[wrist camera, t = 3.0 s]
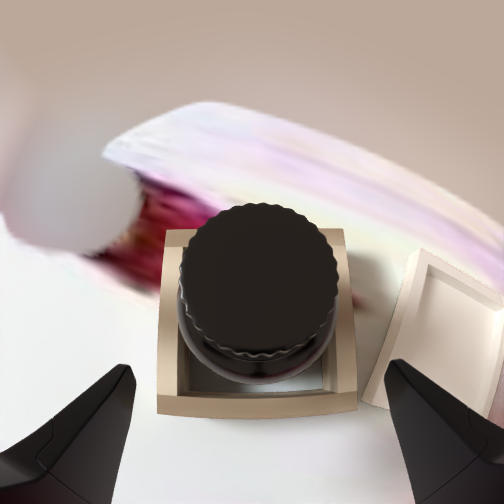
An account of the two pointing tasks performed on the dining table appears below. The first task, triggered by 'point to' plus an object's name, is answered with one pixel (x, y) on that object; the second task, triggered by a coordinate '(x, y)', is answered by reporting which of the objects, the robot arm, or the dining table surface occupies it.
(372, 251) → the dining table surface
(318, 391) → the frame
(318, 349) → the supplement bottle
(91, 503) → the robot arm
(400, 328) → the dock
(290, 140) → the dining table surface
